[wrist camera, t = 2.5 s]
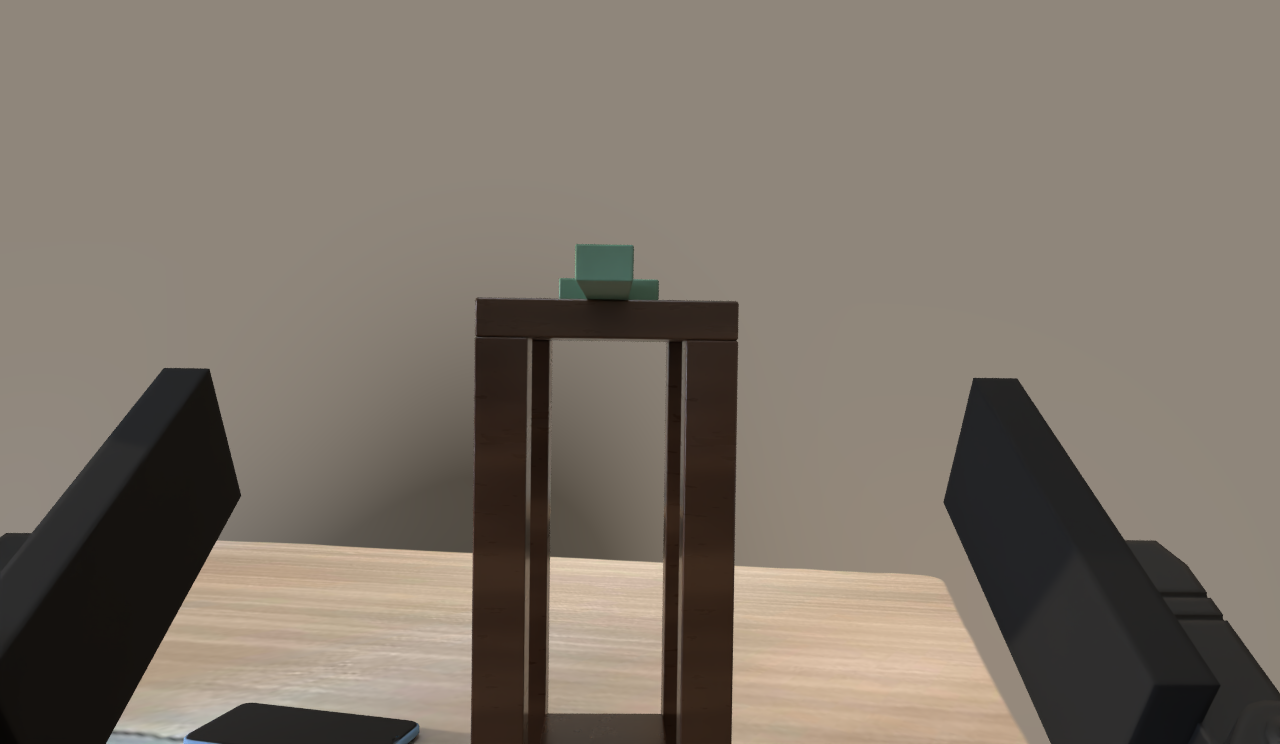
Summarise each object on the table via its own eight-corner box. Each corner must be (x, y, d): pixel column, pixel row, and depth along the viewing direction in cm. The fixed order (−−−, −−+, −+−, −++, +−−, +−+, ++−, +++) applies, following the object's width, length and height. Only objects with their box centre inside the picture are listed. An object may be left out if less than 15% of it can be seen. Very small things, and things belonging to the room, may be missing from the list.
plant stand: (726, 1074, 37) (739, 301, 36) (467, 1075, 37) (475, 297, 36) (696, 874, 51) (704, 313, 50) (508, 874, 51) (514, 311, 50)
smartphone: (244, 700, 73) (424, 720, 69) (244, 711, 73) (425, 732, 69) (175, 737, 65) (372, 762, 62) (175, 750, 65) (372, 775, 62)
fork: (684, 282, 26) (684, 238, 26) (523, 279, 26) (523, 235, 26) (653, 311, 48) (653, 288, 48) (565, 310, 48) (566, 286, 48)
